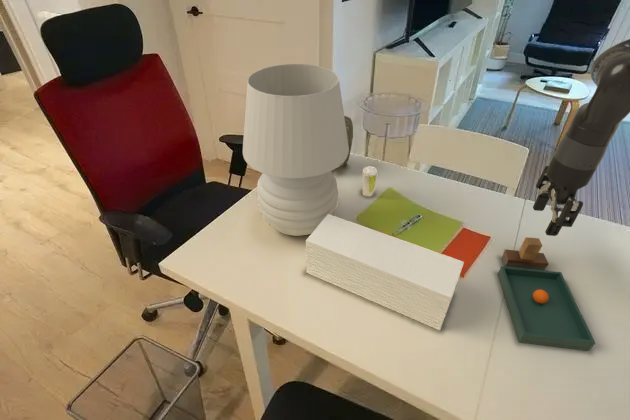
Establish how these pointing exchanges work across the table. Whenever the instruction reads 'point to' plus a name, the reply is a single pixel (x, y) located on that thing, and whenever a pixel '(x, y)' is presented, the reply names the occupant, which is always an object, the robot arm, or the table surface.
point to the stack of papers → (383, 269)
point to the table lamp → (295, 143)
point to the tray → (544, 309)
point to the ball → (540, 296)
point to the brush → (526, 256)
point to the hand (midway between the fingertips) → (543, 221)
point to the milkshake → (369, 180)
